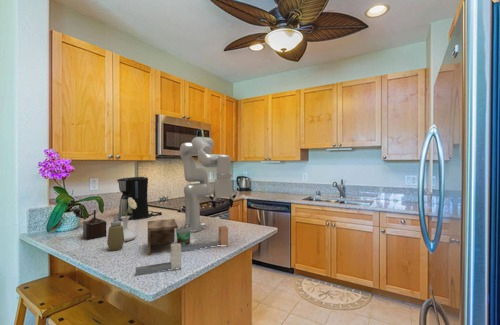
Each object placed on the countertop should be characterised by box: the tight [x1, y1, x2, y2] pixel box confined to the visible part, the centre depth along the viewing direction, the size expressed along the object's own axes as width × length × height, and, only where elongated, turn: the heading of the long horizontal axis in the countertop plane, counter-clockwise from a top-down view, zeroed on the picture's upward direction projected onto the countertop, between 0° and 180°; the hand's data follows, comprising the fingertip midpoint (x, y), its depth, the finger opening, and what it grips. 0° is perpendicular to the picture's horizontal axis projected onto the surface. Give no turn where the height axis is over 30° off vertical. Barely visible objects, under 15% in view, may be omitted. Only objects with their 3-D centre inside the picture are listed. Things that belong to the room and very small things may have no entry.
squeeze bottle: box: [106, 214, 125, 251], centre depth 128 cm, size 8×8×18 cm
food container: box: [175, 223, 192, 245], centre depth 137 cm, size 12×6×10 cm, turn 172°
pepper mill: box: [72, 208, 107, 241], centre depth 147 cm, size 16×11×18 cm
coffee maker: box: [116, 176, 163, 221], centre depth 204 cm, size 23×32×34 cm
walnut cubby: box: [147, 218, 179, 256], centre depth 130 cm, size 14×17×13 cm
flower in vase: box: [121, 197, 137, 242], centre depth 144 cm, size 13×11×25 cm
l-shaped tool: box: [135, 242, 182, 276], centre depth 103 cm, size 18×4×10 cm, turn 113°
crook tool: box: [180, 225, 229, 252], centre depth 134 cm, size 25×12×10 cm, turn 114°
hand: (222, 207), depth 135 cm, fingers open, 9 cm apart
